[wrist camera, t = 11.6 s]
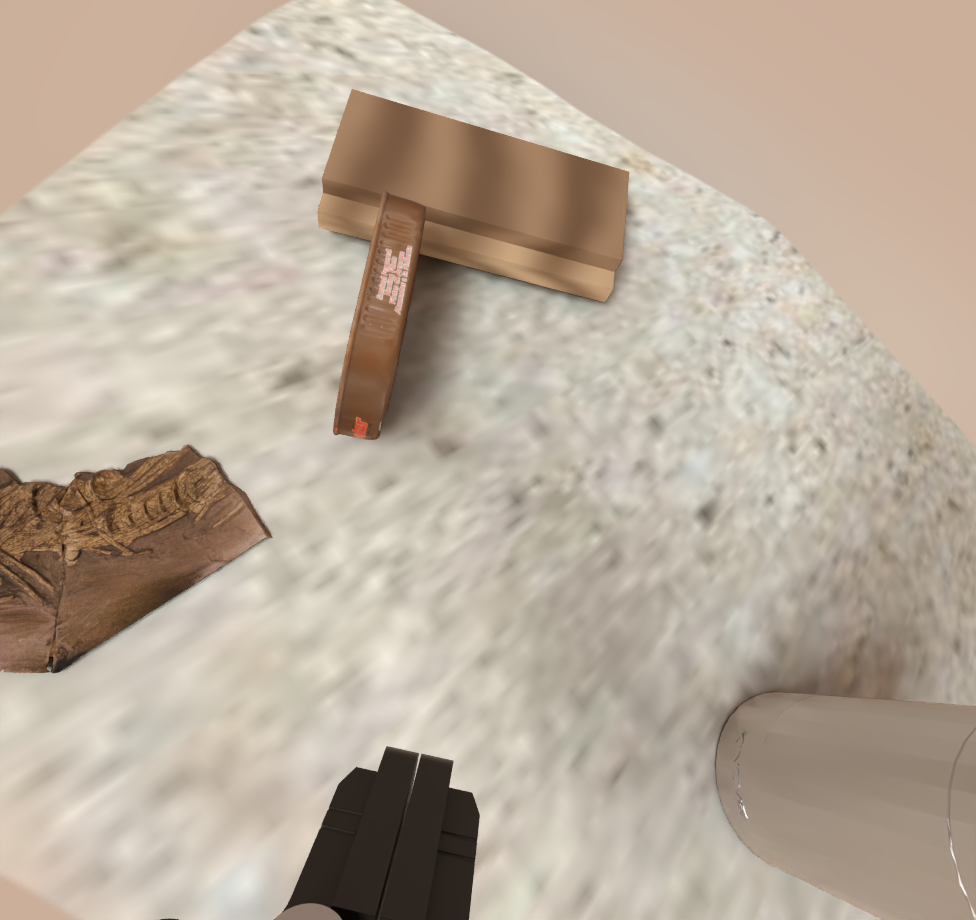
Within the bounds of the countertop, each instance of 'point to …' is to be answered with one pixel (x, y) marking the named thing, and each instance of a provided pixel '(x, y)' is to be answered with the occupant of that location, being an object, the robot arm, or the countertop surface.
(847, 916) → the countertop surface
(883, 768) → the robot arm
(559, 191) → the walnut plank
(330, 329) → the countertop surface
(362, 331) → the tin
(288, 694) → the countertop surface
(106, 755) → the countertop surface
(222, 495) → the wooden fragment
